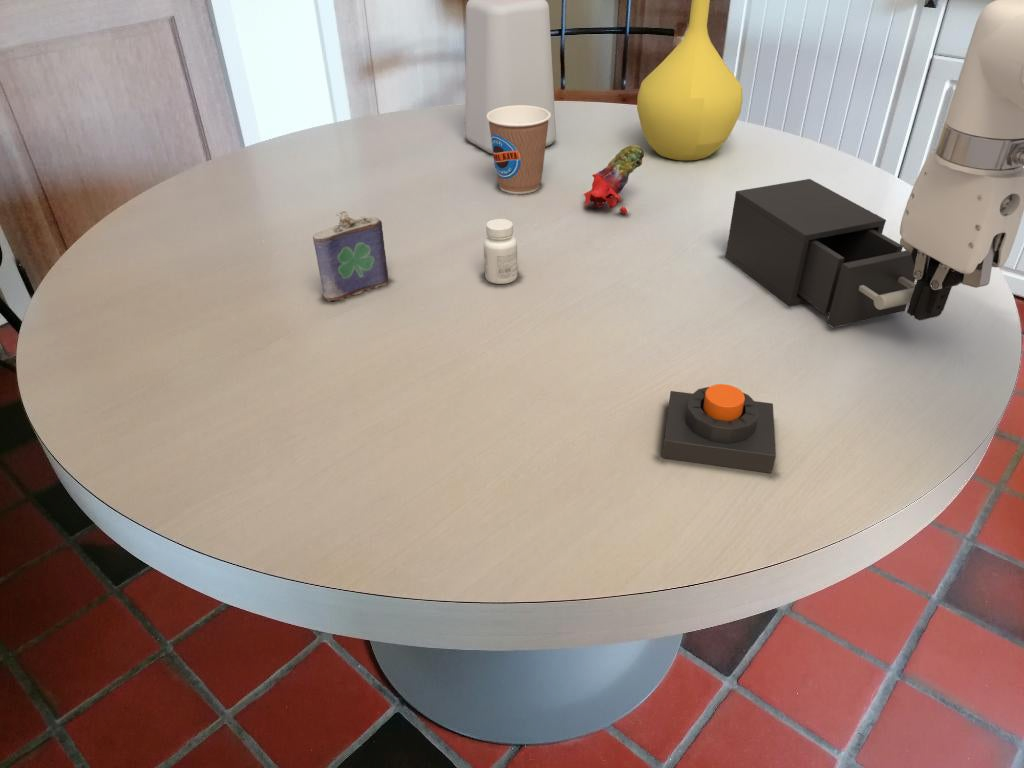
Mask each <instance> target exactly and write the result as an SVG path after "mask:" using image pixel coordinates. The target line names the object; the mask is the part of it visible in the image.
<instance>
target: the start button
mask: <svg viewBox="0 0 1024 768" xmlns="http://www.w3.org/2000/svg"><path fill="white" fill-rule="evenodd" d="M708 387H709V388H708V389H707V390H706V393H705V399H704V405H703V409H704V411H705V413H706V414H707V415H709V416H711V417H713V418H715V419H718V420H725V421H731V420H735V419H738V418H739V417H740V416H741V414H742V411H743V406H744V401H745V396H744V394H743V393H744V392H743V391H742V390H741V389H740V388H738V387H736V386H734V385H730V384H726V383H718V384H713V385H711V386H708Z"/></svg>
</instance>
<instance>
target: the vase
mask: <svg viewBox="0 0 1024 768" xmlns="http://www.w3.org/2000/svg"><path fill="white" fill-rule="evenodd" d="M710 2H711V1H710V0H691V3H690V12H689V13H690V14H689V22H688V27H687V30H686V32H685V34H684V36H683V38H682V39H681V41H680V42H679V43H678V45H676V46H675V48H674V49H673V50H671V52H670V53H669V54H668V55H667V56H666V57H665V58H664V59H663V60H662V62H661V63H659V65H658V66H656V67H655V68H654V69H653V70H652V71H651V72H650V73H649V74H648V75H647V76H646V77H645V78H644V79H643V80H642V81H641V83H640V86H639V90H638V93H637V98H636V99H637V101H636V110H637V111H636V112H637V114H638V119H639V123H640V127H641V131H642V133H643V136H644V137H645V140H646V141H647V143H648V145H649V146H650V147H651V149H653V150H654V151H655V152H656V154H657V155H660V156H661V157H663V158H666V159H669V160H673V161H690V162H691V161H699V160H702V159H706V158H708V157H710V156H711V155H712V154H714V153H715V152H716V151H718V150H719V149H720V148H721V147H722V146H723V144H724V143H725V142H726V141H727V140H728V138H729V137H730V136H731V133H732V131H733V130H734V127H735V126H736V124H737V122H738V120H739V117H740V116H741V112H742V107H743V106H742V105H743V99H744V97H743V86H742V83H741V82H740V81H739V80H738V78H737V77H736V76H735V75H734V73H733V72H732V71H731V69H730V68H729V67H728V65H727V64H726V63H725V61H724V60H723V59H722V57H721V55H720V54H719V52H718V51H717V49H716V48H715V46H714V45H713V43H712V41H711V38H710V35H709V31H708V20H709V19H708V18H709V11H710Z"/></svg>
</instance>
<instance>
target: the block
mask: <svg viewBox="0 0 1024 768" xmlns="http://www.w3.org/2000/svg"><path fill="white" fill-rule="evenodd" d="M709 387H710V386H706V387H701V388H698V389H696V390H695V391H694V392H693V393H691V392H684V391H675V390H671V391H670V393H669V400H668V409H667V416H666V425H665V432H664V441H663V449H662V458H663V459H666V460H667V459H668V460H675V461H681V462H689V463H697V464H704V465H709V466H716V467H717V466H720V467H726V468H731V469H739V470H746V471H754V472H758V473H759V472H760V473H767V474H772V473H773V469H774V465H775V461H776V457H777V451H776V450H777V449H776V434H775V417H774V414H775V413H774V404H773V402H765V401H764V402H763V401H757V400H754V399H753V398H752V397H751V396H750V395H749V394H747V393H745V392H743V394H744V396H745V401H744V406H743V411H742V414H741V416H740V417H739V418H738V419H735V420H731V421H725V420H718V419H715V418H713V417H711V416H709V415H707V414H706V413H705V411H704V409H703V405H704V399H705V393H706V390H707V389H708V388H709Z"/></svg>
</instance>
